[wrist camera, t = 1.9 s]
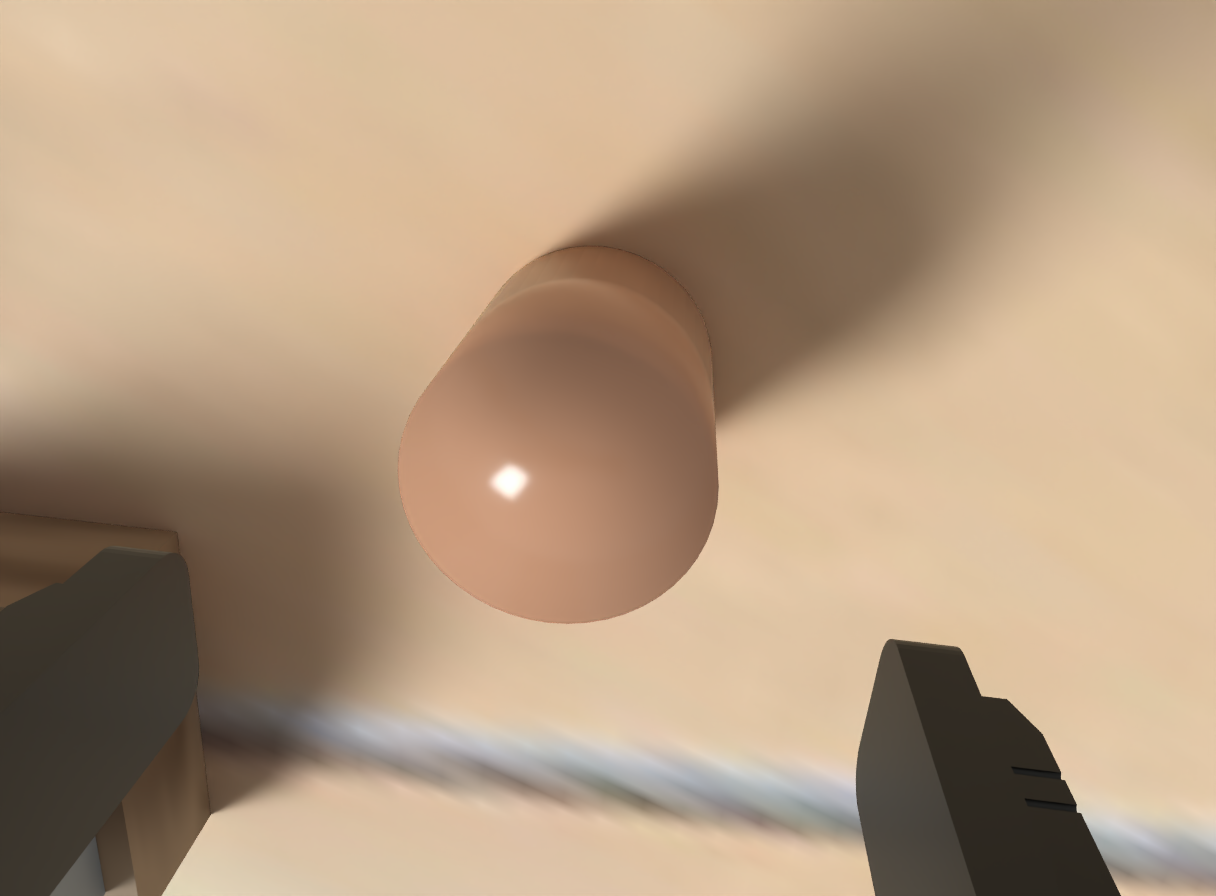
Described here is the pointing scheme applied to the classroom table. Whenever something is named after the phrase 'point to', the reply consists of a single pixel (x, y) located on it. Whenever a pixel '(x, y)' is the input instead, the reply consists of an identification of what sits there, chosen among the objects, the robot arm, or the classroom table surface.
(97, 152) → the classroom table surface
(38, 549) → the bottom block
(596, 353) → the terracotta cylinder
